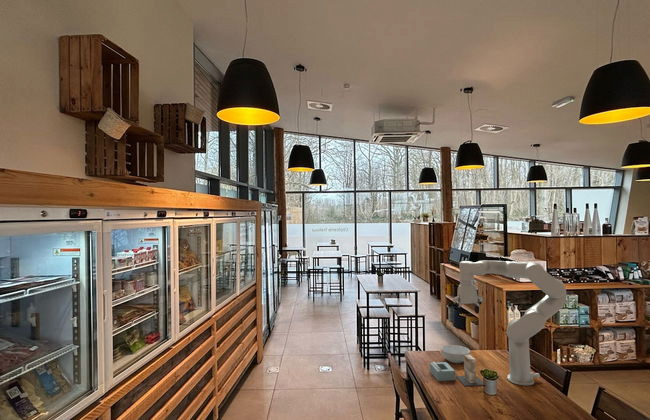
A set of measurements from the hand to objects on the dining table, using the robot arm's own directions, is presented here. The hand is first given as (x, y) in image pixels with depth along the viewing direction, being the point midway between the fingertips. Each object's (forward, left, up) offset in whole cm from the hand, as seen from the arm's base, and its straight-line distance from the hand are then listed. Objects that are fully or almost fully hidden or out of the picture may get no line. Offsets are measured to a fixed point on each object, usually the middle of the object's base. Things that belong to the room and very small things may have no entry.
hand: (468, 313), depth 200 cm
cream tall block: (+6, +12, -32) cm, 34 cm away
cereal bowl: (+2, -16, -33) cm, 36 cm away
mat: (+6, +12, -32) cm, 35 cm away
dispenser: (+18, +4, -32) cm, 37 cm away
